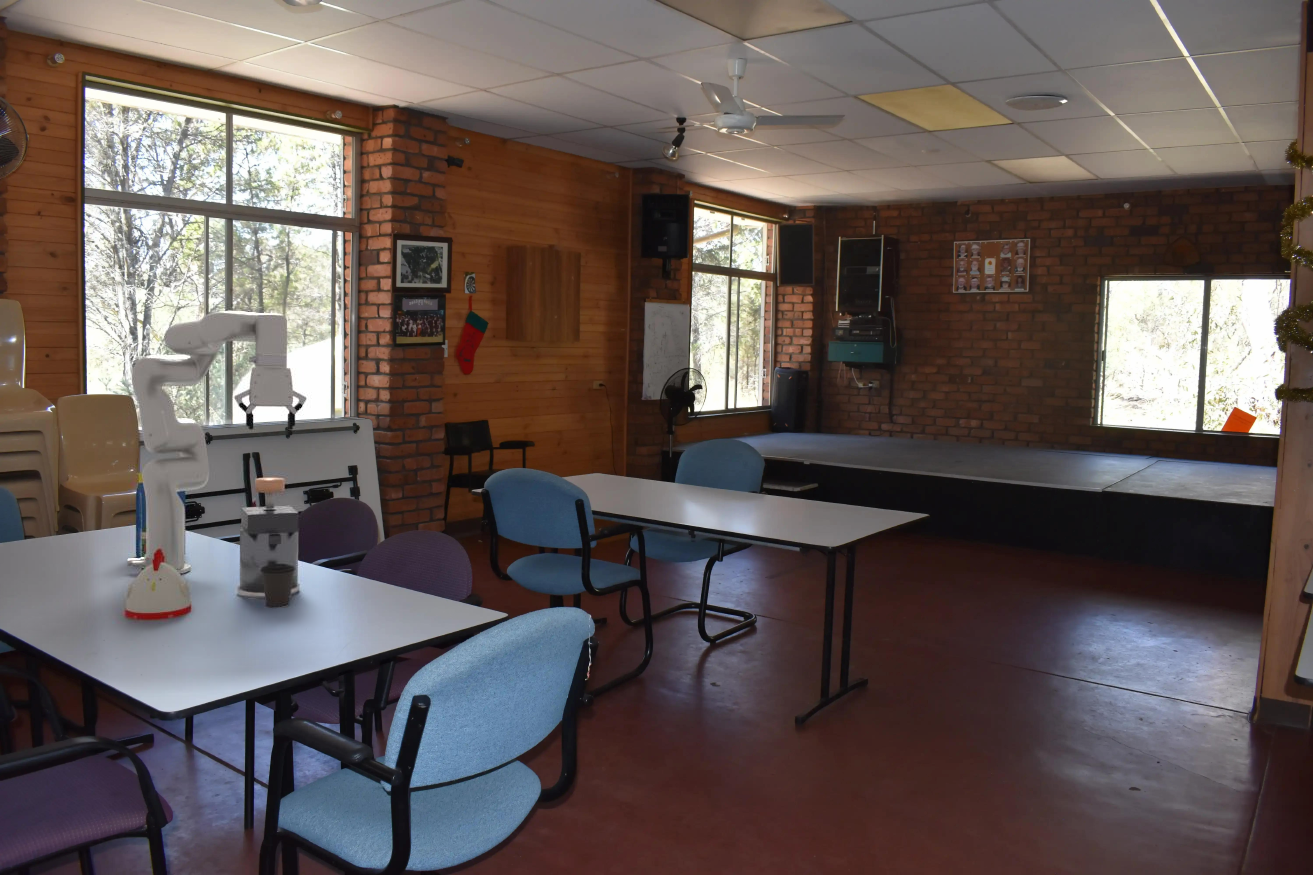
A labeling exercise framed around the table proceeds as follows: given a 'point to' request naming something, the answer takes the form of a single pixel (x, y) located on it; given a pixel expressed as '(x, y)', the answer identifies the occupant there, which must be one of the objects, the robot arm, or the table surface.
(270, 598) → the coffee cup
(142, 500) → the blue food package
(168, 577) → the kitchen timer
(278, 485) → the button
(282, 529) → the airpot
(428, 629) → the table surface
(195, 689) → the table surface
